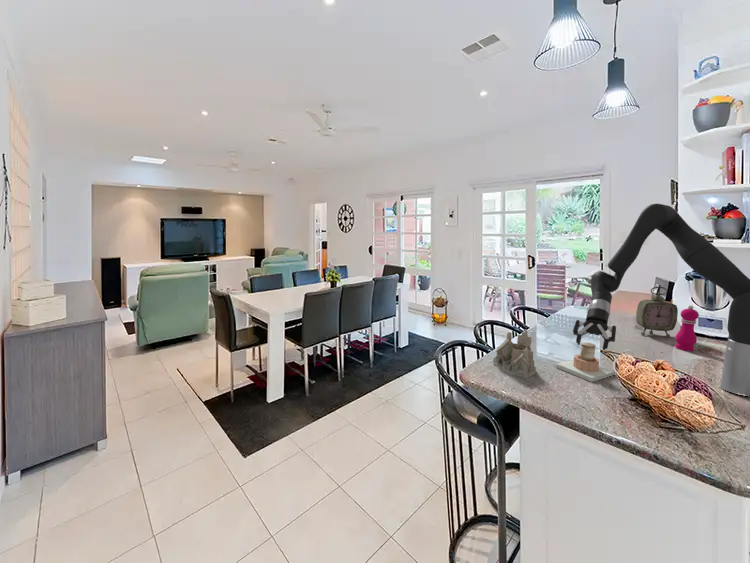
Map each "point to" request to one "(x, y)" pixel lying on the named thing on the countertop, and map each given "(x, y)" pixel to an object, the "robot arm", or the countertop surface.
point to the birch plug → (587, 351)
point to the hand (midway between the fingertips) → (591, 346)
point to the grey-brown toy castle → (516, 356)
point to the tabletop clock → (656, 314)
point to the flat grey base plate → (586, 369)
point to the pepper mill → (687, 330)
